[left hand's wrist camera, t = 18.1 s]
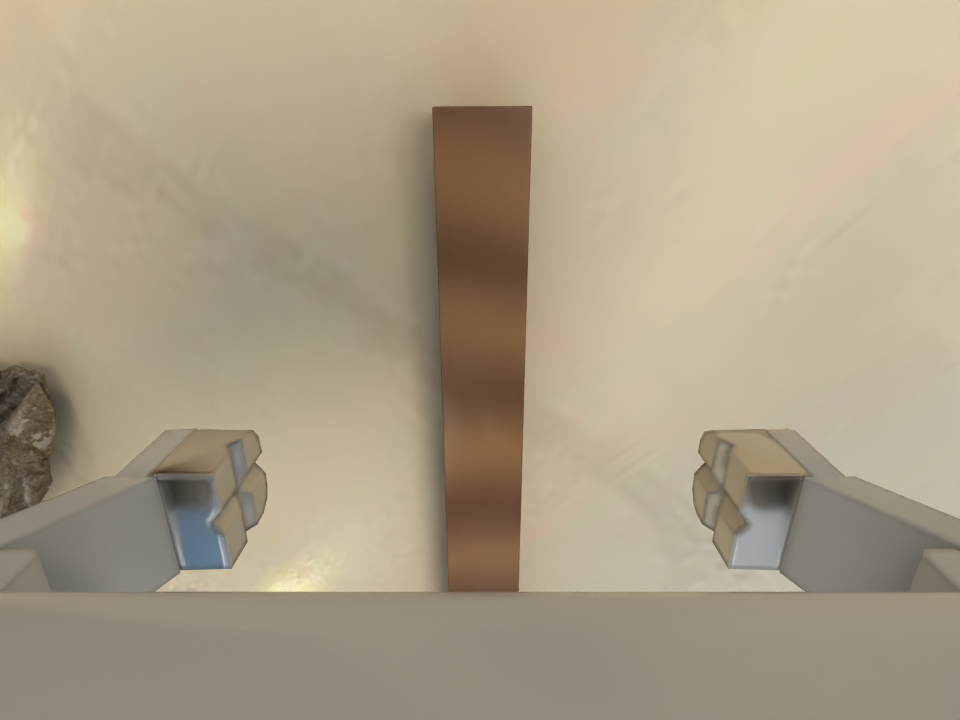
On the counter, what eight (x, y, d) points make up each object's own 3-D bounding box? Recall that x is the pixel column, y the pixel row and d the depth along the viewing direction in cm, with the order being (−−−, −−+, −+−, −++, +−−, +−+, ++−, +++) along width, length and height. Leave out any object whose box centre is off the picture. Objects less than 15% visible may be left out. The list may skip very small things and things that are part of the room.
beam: (439, 111, 36) (432, 106, 31) (524, 110, 36) (532, 106, 31) (456, 691, 56) (454, 749, 51) (510, 691, 56) (514, 749, 51)
